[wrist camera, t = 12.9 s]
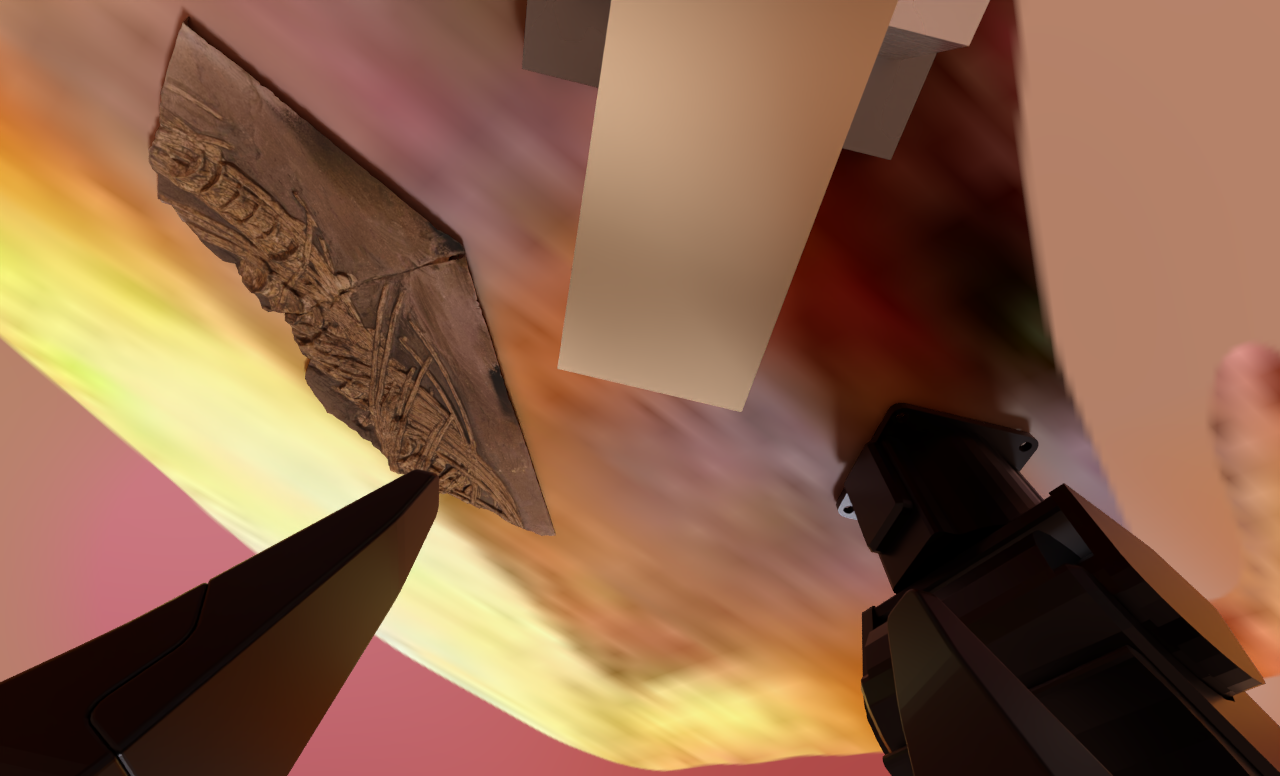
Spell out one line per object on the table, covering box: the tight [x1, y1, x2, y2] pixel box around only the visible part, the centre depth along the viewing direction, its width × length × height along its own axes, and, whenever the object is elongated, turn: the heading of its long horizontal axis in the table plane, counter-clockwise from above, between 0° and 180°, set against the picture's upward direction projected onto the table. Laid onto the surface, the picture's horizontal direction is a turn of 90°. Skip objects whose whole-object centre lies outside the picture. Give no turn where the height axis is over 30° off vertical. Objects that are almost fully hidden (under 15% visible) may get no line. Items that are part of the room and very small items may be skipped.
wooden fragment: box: [148, 17, 556, 536], centre depth 23 cm, size 26×11×1 cm, turn 23°
